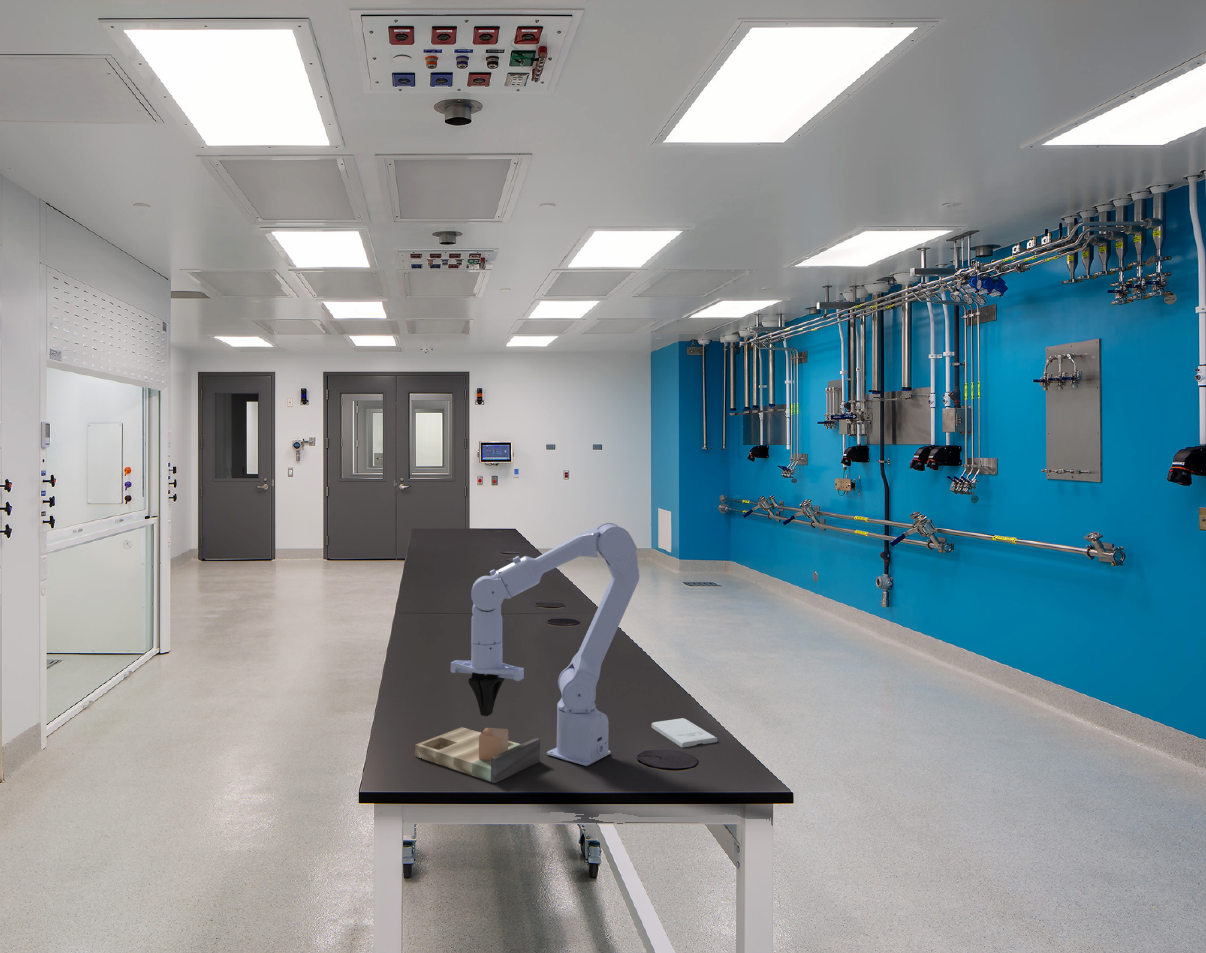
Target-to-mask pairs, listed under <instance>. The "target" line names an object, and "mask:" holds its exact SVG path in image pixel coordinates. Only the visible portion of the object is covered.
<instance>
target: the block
mask: <svg viewBox="0 0 1206 953" xmlns="http://www.w3.org/2000/svg"><path fill="white" fill-rule="evenodd" d="M480 733H481V734H480V735H479V759H483V760H491V757H493V756H496V755H498V754H500V753H502V752H505V751H507V750H508V741H509V728H499V727H498V728H497V727H496V728H494V727H485V728H484V729H483V731H482V732H480Z"/></svg>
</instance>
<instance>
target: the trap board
mask: <svg viewBox="0 0 1206 953" xmlns="http://www.w3.org/2000/svg"><path fill="white" fill-rule="evenodd" d="M481 733H482V732H481V731H478V730H477V731H476V730H472V729H470V728H466V727H463V726H461V727H458V728H456V729H453V730H451V731H448V732H445V733H443V734H439V735H437V736H435V737H432V738H429V739H426V740H424V741H421V742H419V743H416V744H415V746H414V748H415V749H414V757H416V758H418V759H419V758H420V759H421V758H422V759H421V760H425V761H428V762H431V763H434V764H437V765H440V766H443V767H446V768H449V769H451V770H454V771H458V772H461V773H463V774H466V775H469V776H473V777H476V778H478V779H480V780H481V779H482V780H484V781H488V782H490V783H493V784H496V783H499V782H500V781H503V780H505V779H507V778H509V777H510V776H513V775H515V774H518V773H520V772H521V771H523V770H525V769H527V768H529V767H531V766H534V765H536V764H538V763H539V762H540V761H541V739H540V738H538V737H535V738H532V739H530V740H527V741H525V742H523V743H518V742H514V741H511V740H508V750H507V751H505V752H502V753H500V754H498V755H496V756H493V757H491V760H483V759H479V735H480V734H481Z"/></svg>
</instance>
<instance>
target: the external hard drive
mask: <svg viewBox="0 0 1206 953" xmlns="http://www.w3.org/2000/svg"><path fill="white" fill-rule="evenodd" d="M651 729H653V730H655V731H656V732H658V733H659V734H661V735H662V736H664V737H665V738H666V739H669V741H671V742H673V743H674V744H675V745H678V746H679V747H680V748H689V747H695V746H697V745H706V744H713V743H717V742H718V737H716V736H715V735H713V734H711V733H710V732H708V731H706V730H705V729H703V728H701V727H700V726H698V725H696V724H694V723H693V722H691V721H690V720H688V719H686V718H683V717H681V718H675V719H669V720H660V721H655V722H651Z"/></svg>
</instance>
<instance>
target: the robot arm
mask: <svg viewBox="0 0 1206 953" xmlns="http://www.w3.org/2000/svg"><path fill="white" fill-rule="evenodd" d="M634 541H635V540H634V539H633V538H632V536H631V534H630V533H629V531H627V530H626V529H625V528H623V527H621V526H619V525H617V524H615V523H613V522H605V523H602V524H600V525H598V526H597V528H596V527H593V528H589V529H588V530H585V531H583V532H581V533H579V534H576V535H575V536H573V537H571V538H569V539H567V540H566V541H564V542H562V543H560V544H559V545H557V546H555V547H553V548H551V549H549V550H548V551H546V552H544V553H543V554H541V555H539V556H537V557H536V558H533V557H531V556H527V555H524V556H522V557H521V558H520V556H519V555H517V556H515V557H513V558H512V562H510V563H508V564H506V565H505V566H503V567H501V568H499V569H497V570H496V569H492V570H490V571H489V574H490V575H482V576H480V577H478V578H477V579H476V580H475V581H474V582H473V585H472V588H471V591H470V592H471V595H470V596H471V601H472V603H473V604H472V607H471V613H472V616H471V621H470V622H471V624H470V625H471V627H470V628H471V633H470V634H471V638H470V639H471V641H470V642H471V650H470V651H471V656H470V657H471V659H470V660H460V659H459V660H458V659H455V660H453V661H451V662H450V673H451V674H452V673H453V674H455V673H461V674H462V673H463V674H470V675H471V677H470V678H468V679H467V681H468V684H469V686H470V687H471V690H472V691H473V693H474V696H475V698H476V702H477V705H478V709H479V713H480V716H484V717H488V716H490V715H492V714H493V712H494V707H495V704H496V703H495V702H496V699H497V696H498V693H499V692H500V689H501V686H502V685H503V683H504V681H505V679H507V680H508V679H510V680H514V681H516V682H520V681H522V680H523V679H525V676H524V675H525V667H521V666H520V667H519V666H515V665H511V664H507V663H503V616H502V604H503V602H504V600H506V599H509V600H510V599H512V598H513V597H515V596H517V595H519V594H521V593H523V592H524V591H526V590H529V589H531V588H532V587H535V586H536V585H538V584H540V582H541V579H542V576H543V574H546V573H547V572H549V571H551V570H553V569H556V568H558V567H560V566H562V565H564V564H567V563H569V562H570V561H573V560H575V559H577V558H579V557H591V558H598V557H599V555H600V556H601V557H602V558H603V559H604V561H605V564H606V566H607V568H608V570H609V573H610V575H611V578H610V580H609V582H608V584H607V588H606V589H605V591H604V594H603V596H602V598H601V601H600V603H599V605H598V607H597V610H596V611H595V613H594V616H593V618H592V621H591V623H590V625H589V626H588V629H587V632H586V634H585V636H584V638H583V640H582V643H581V644H580V647H579V649H578V651H577V653H575V654H574V656H573V657H572V659H571V661H570V663H569V664H568V666H567V667H566V668H564V669H563V670H562V671H561V672H560V673H559V677H558V679H557V685H558V689H559V691H560V693H561V698H560V700H559V701H557V704H556V706H557V707H556V711H557V712H556V715H557V716H556V747H555V748H552V749H549V750H548V751H547V752H546V755H548V756H550V757H553V758H557V759H561V760H563V761H567V762H570V763H571V762H572V763H575V764H579V765H581V766H585V767H588V766H590V765H592V764H594V763H596V762H597V761H599V760H601V759H603V758H604V757H607V756H608V755H610V754H611V750H609V734H610V732H609V727H610V726H609V724H610V723H609V718H608V715H607V714H605V713H603V712H602V711H599V709H597V707H596V702H595V701H596V697H597V696H596V695H597V684H598V681H599V679H600V675H601V668H602V664H603V662H604V659H605V657H606V656H607V655H606V654H608V653H607V652H608V651H609V648H610V646H611V644H612V641H613V639H614V637H615V634H616V633H617V630H618V628H619V626H620V624H621V622H622V620H623V616H624V615H625V613H626V610H627V608H628V606H629V604H630V602H631V600H632V596H633V594H634V592H635V591H636V588H637V586H638V583H639V581H640V569H639V564H638V563H639V562H638V557H637V556H638V555H637V545H636V543H635V542H634ZM598 553H599V555H598Z"/></svg>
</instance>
